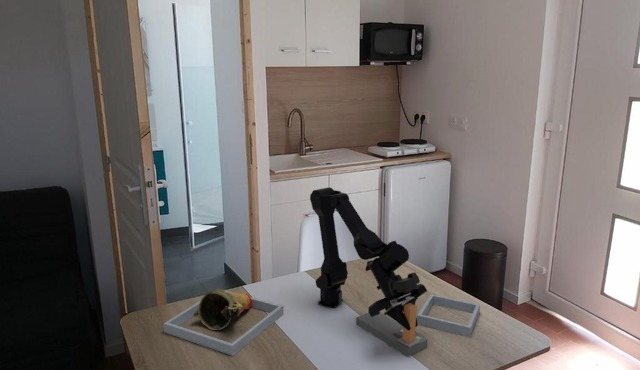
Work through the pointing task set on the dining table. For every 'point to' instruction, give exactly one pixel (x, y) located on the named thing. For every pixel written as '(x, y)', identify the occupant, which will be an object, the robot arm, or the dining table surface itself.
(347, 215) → the robot arm
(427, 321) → the tray
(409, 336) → the handle
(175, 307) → the dining table surface
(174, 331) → the tray
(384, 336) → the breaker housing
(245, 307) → the pot
